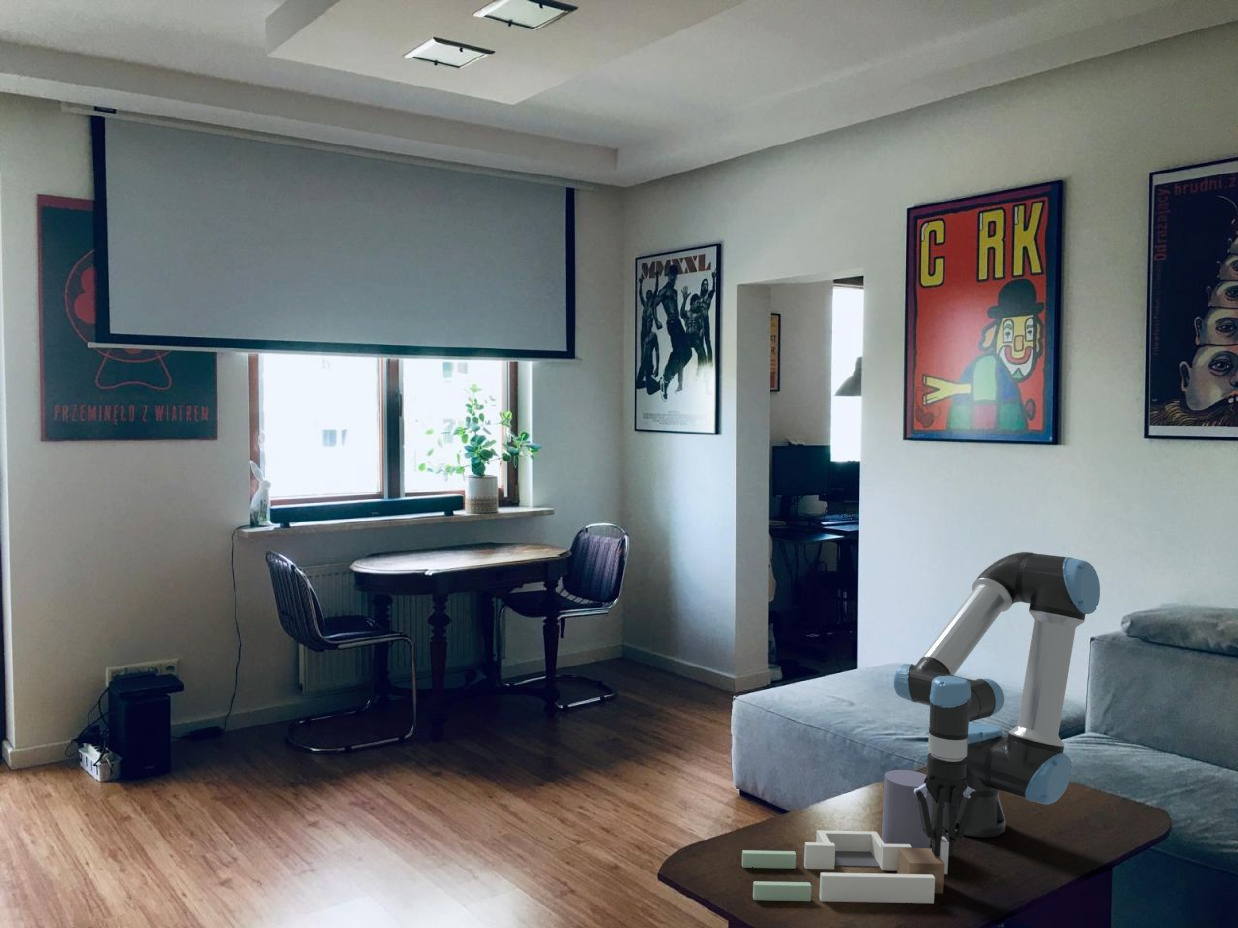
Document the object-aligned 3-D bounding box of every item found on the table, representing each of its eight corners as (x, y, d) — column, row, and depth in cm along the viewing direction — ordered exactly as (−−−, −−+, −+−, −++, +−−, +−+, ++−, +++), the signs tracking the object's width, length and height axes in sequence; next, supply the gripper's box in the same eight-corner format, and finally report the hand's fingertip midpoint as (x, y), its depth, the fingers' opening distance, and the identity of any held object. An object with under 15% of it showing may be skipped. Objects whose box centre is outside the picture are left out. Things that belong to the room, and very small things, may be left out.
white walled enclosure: (895, 849, 222) (897, 827, 221) (933, 903, 198) (935, 877, 197) (795, 847, 221) (796, 825, 220) (821, 901, 197) (822, 875, 197)
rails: (794, 865, 212) (794, 851, 212) (810, 900, 197) (811, 885, 197) (741, 864, 212) (742, 850, 212) (754, 899, 196) (754, 884, 196)
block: (930, 876, 209) (932, 848, 209) (942, 893, 202) (944, 863, 202) (896, 876, 209) (898, 847, 208) (908, 892, 202) (909, 862, 201)
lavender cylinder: (895, 856, 218) (898, 787, 218) (873, 836, 228) (876, 770, 228) (939, 853, 220) (942, 785, 220) (915, 834, 231) (918, 768, 230)
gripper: (971, 749, 208) (965, 863, 209) (909, 748, 208) (903, 862, 209) (986, 762, 201) (980, 879, 202) (921, 760, 200) (915, 878, 201)
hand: (941, 870), depth 205 cm, fingers closed
